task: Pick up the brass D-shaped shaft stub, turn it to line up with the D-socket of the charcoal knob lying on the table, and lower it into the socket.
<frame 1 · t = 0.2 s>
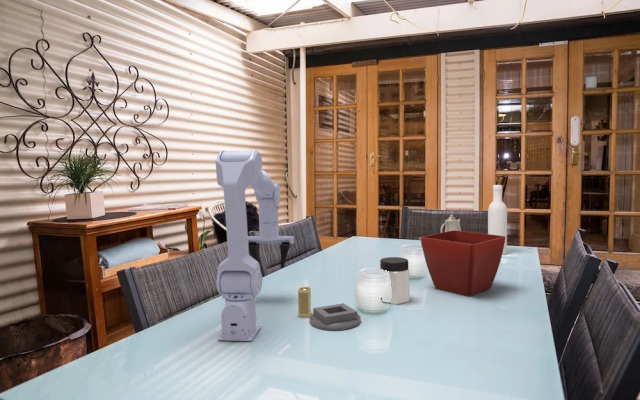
hand: (270, 267, 132), 10 cm above the table, tool pointing down, fingers open, 7 cm apart
bottle: (497, 253, 194), on the table
plant pot: (462, 289, 140), on the table
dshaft: (305, 314, 119), on the table
chinaware: (446, 248, 210), on the table
jar: (394, 300, 130), on the table
hub: (335, 321, 113), on the table
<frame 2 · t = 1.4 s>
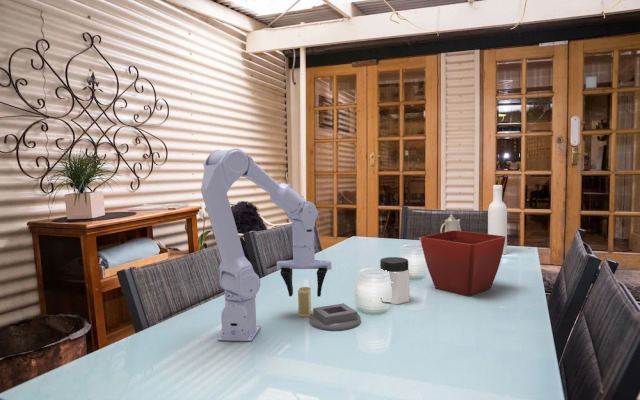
hand: (305, 295, 119), 5 cm above the table, tool pointing down, fingers open, 7 cm apart
nothing on the table moved.
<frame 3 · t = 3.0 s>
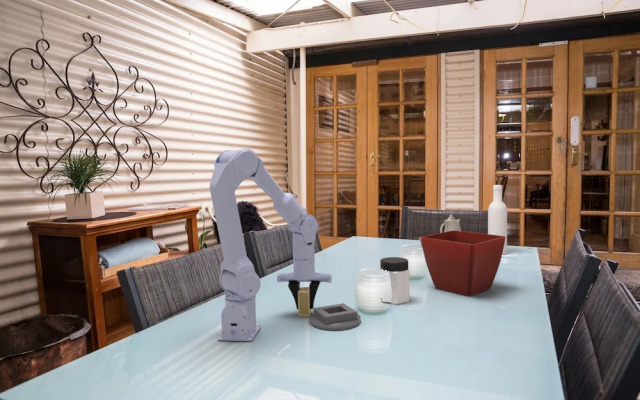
hand: (305, 308, 119), 2 cm above the table, tool pointing down, fingers closed on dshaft, 3 cm apart
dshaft: (305, 314, 119), on the table, touching gripper
everything else where it was.
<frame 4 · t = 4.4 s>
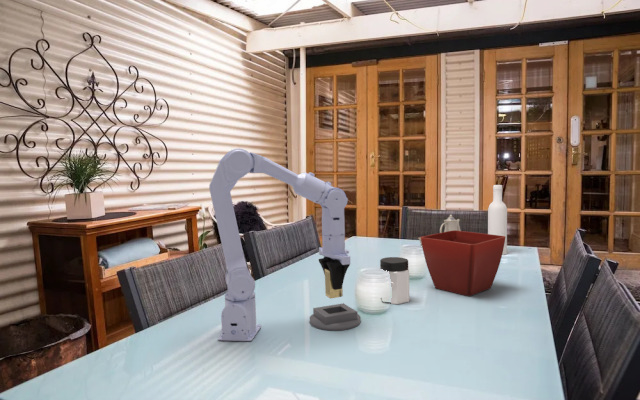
hand: (334, 287, 113), 9 cm above the table, tool pointing down, fingers closed on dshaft, 3 cm apart
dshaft: (335, 295, 113), point 7 cm above the table, touching gripper
everything else where it was.
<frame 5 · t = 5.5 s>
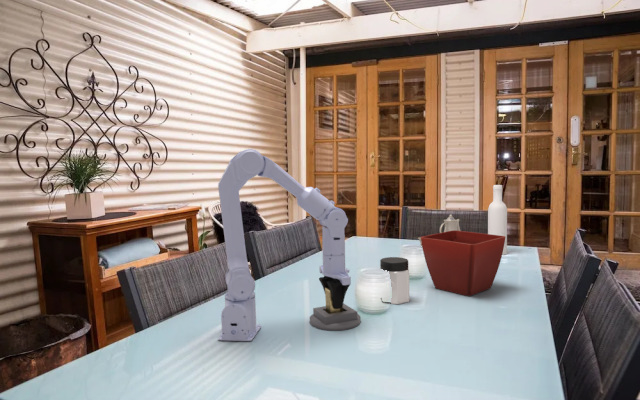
hand: (334, 306, 113), 4 cm above the table, tool pointing down, fingers closed on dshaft, 3 cm apart
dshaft: (335, 314, 113), point 2 cm above the table, touching gripper
everything else where it was.
when the fingers open (4 cm above the table, at t = 6.3 s): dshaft stays where it is, resting on hub.
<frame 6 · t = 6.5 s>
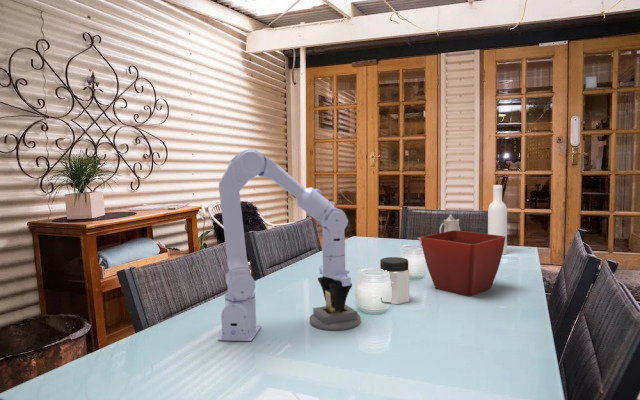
hand: (334, 307, 113), 4 cm above the table, tool pointing down, fingers open, 5 cm apart
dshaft: (335, 317, 113), point 1 cm above the table, touching hub
everything else where it was.
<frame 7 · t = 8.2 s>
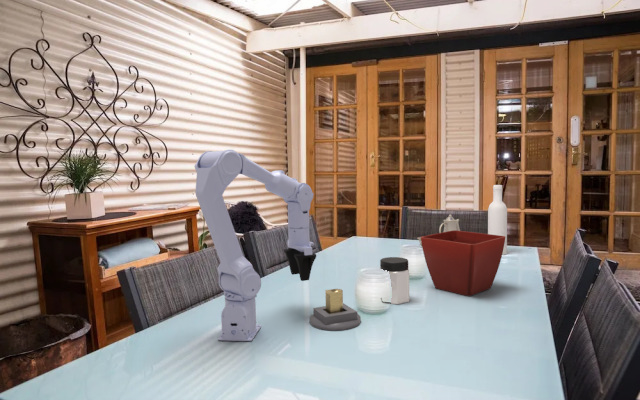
hand: (300, 277, 120), 10 cm above the table, tool pointing down, fingers open, 7 cm apart
nothing on the table moved.
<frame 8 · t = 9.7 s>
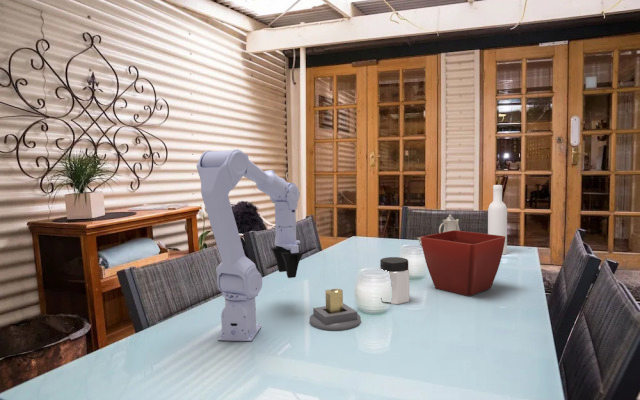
hand: (287, 274, 123), 10 cm above the table, tool pointing down, fingers open, 7 cm apart
nothing on the table moved.
at the end: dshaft 0.1 cm off-centre on the hub, point 1.0 cm above the hub's base; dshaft tilted 0°; the gripper is holding nothing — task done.
